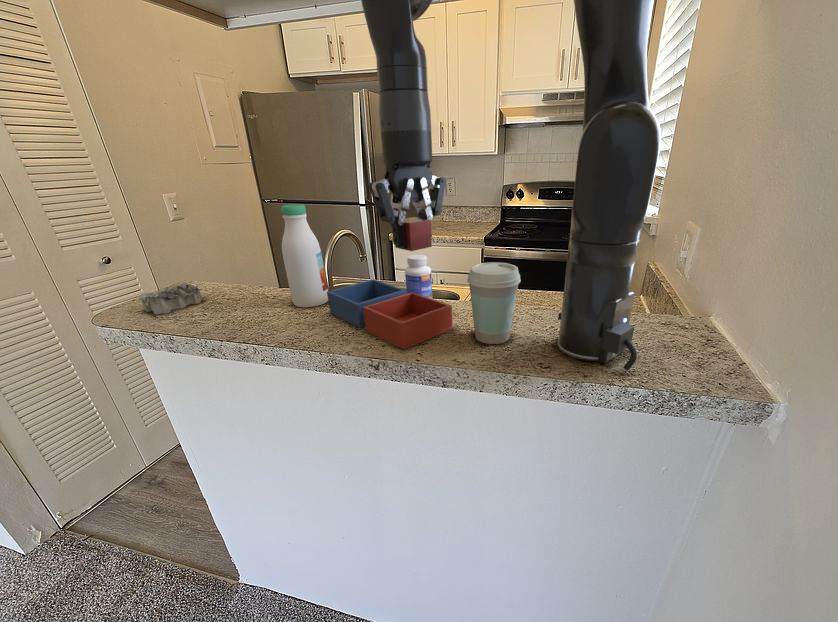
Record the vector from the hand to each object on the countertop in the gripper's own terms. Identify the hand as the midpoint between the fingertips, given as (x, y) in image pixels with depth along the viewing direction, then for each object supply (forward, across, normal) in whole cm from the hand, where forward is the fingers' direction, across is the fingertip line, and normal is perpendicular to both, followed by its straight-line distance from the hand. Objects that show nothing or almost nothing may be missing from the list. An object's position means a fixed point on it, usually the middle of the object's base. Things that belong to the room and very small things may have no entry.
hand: (413, 245), depth 68 cm
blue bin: (+15, -2, +13) cm, 20 cm away
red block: (0, 0, 0) cm, 0 cm away
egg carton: (+15, -30, +49) cm, 59 cm away
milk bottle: (+15, -8, +28) cm, 33 cm away
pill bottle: (+15, +8, +10) cm, 20 cm away
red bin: (+15, -2, 0) cm, 15 cm away
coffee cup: (+15, +6, -13) cm, 21 cm away
